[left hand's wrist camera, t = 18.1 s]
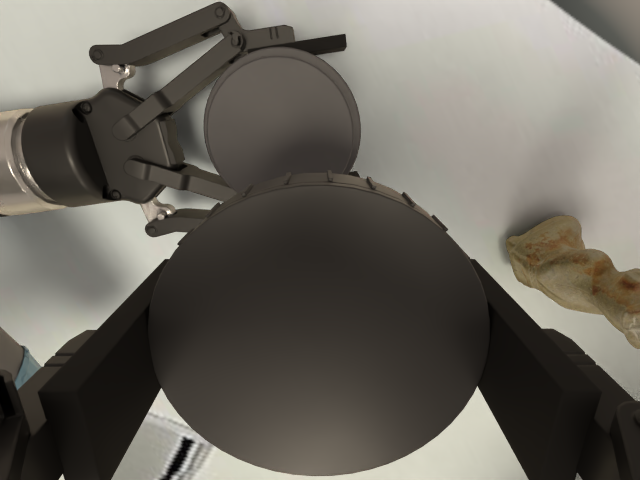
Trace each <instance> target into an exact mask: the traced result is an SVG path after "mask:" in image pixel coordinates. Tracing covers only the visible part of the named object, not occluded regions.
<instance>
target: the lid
mask: <svg viewBox="0 0 640 480" xmlns="http://www.w3.org/2000/svg"><path fill="white" fill-rule="evenodd" d="M205 217H206V218H205V219H204V220H203V221H202V222H201V223H200V224H199V225H198V226H197V227H196V228H195V229H193V228H192V229H191V230H190V231H189V232H188V233H187V234H186V235H185V236H184V237H183V238H182V239H181V240H180V241H179V242H178V245H179V247H178V248H177V249H176V250H175V252H174V253H173V255H172V256H171V258H170V259H169V261H168V262H167V264H166V265H165V267H164V268H163V271H162V273H161V274H160V276H159V280H158V282H157V284H156V286H155V289H154V293H153V296H152V300H151V304H150V308H149V318H148V338H149V345H150V350H151V356H152V361H153V367H154V371H155V373H156V376H157V379H158V382H159V384H160V386H161V388H162V389H163V391H164V393H165V395H166V397H167V399H168V400H169V402H170V403H171V404H172V406H173V407H174V408H175V410H176V411H177V413H178V414H179V415H180V416H181V417H182V418H183V419H184V420H185V421H186V423H187V424H188V425H189V426H190V427H191V428H192V429H193V430H195V431H196V432H197V433H198V434H199V435H201V436H202V437H203V438H204V439H205V440H207V441H208V442H210V443H211V444H213V445H214V446H216V447H217V448H219V449H220V450H222V451H224V452H226V453H228V454H230V455H232V456H234V457H235V458H237V459H240V460H242V461H245V462H247V463H250V464H252V465H255V466H258V467H262V468H265V469H269V470H272V471H277V472H282V473H288V474H294V475H306V476H334V475H342V474H351V473H356V472H361V471H365V470H370V469H373V468H376V467H379V466H383V465H386V464H389V463H391V462H393V461H396V460H398V459H400V458H403V457H405V456H407V455H409V454H410V453H412V452H414V451H416V450H417V449H419V448H421V447H423V446H424V445H425V444H427V443H428V442H429V441H431V440H432V439H434V438H435V437H436V436H438V435H439V434H440V433H441V432H442V431H443V430H444V429H445V428H446V427H448V426H449V425H450V424H451V423H452V422H453V421H454V419H455V418H456V417H457V416H458V415H459V414H460V412H461V411H462V410H463V409H464V407H465V406H466V404H467V403H468V401H469V400H470V398H471V397H472V395H473V394H474V392H475V389H476V387H477V385H478V383H479V381H480V379H481V377H482V374H483V370H484V367H485V364H486V361H487V356H488V350H489V343H490V317H489V311H488V304H487V299H486V296H485V293H484V290H483V287H482V284H481V281H480V279H479V277H478V275H477V273H476V271H475V269H474V268H473V266H472V264H471V262H470V261H471V259H470V257H469V256H468V255H467V254H466V253H465V252H464V251H463V250H462V249H461V248H460V247H459V245H458V244H457V243H456V242H455V241H454V240H453V239H452V238H451V237H450V236H449V235H448V234H447V233H446V231H447V230H448V229H447V228H446V227H445V226H444V225H443V224H442V223H441V222H440V221H439V220H438V219H437V218H436V217H435V216H434V215H433V216H432V217H431V216H430V215H429V214H428V213H427V212H426V211H425V210H423V209H422V208H421V207H420V206H418V205H417V204H416V203H415V202H414V201H413V200H412V199H411V198H410V197H409V196H408V195H407V194H406V193H405V192H403V194H400V193H398V192H396V191H395V190H393V189H391V188H389V187H386V186H384V185H381V184H378V183H376V182H373V180H372V179H371V177H367V179H363V178H359V177H355V176H351V175H344V174H335V173H332V171H331V170H327V173H301V174H295V175H291V172H288V173H287V174H286V176H282V177H278V178H275V179H272V180H268V181H265V182H261V183H259V184H257V185H254V186H253V184H252V183H251V184H249V185H248V186H247V187H246V189H245V190H243V191H241V192H239V193H238V194H236V195H235V196H233V197H231V198H230V199H228V200H226V201H225V202H223V203H222V204H220V203H217V204H216V205H215V206H214V207H213V208H212V209H211V210H210V211H209V212H208V213H207V214H206V215H205Z"/></svg>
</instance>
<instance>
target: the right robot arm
mask: <svg viewBox="0 0 640 480" xmlns="http://www.w3.org/2000/svg"><path fill="white" fill-rule="evenodd" d="M220 33H222V34H223V36H224V39H223V40H221V41H220V42H219V43H218V44H216V45H215V46H214V47H213V48H211V49H210V50H209V51H208V52H207V53H205V54H204V55H203V56H202V57H200V58H199V59H198V60H197V61H195V62H194V63H193V64H192V65H191V66H189V67H188V68H187V69H186V70H184V71H183V72H182V73H181V74H180V75H178V76H177V77H176V78H175V79H173V80H172V81H171V82H170V83H168V84H167V85H166V86H165V87H164V88H162V89H161V90H159V91H157V92H155V93H154V94H152V95H151V96H150V97H148V98H147V99H146V100H144V99H143V98H141V97H139V96H137V95H135V94H133V93H131V92H129V91H127V90H125V89H124V82H125V81H126V80H127V79H129V78H132V77H133V76H134V75H135V72H136V70H135V67H139V66H144V65H148V64H151V63H153V62H155V61H158V60H160V59H162V58H165V57H167V56H169V55H171V54H174V53H176V52H178V51H181V50H183V49H185V48H187V47H190V46H192V45H194V44H197V43H199V42H201V41H203V40H206V39H208V38H210V37H213V36H215V35H217V34H220ZM270 47H288V48H295V49H299V50H303V51H306V52H308V53H311V54H313V55H319V54H326V53H332V52H339V51H344V50H345V48H346V47H347V45H346V35H345V34H341V35H335V36H329V37H322V38H316V39H309V40H303V41H297V42H295V37H294V30H293V27H290V26H286V25H281V26H275V27H268V28H262V29H256V30H244V29H242V27H241V26H240V24H239V22H238V20H237V18H236V15H235V14H234V12H233V11H232V10H231V9H230V8H229V7H228V6H227V5H225V4H224V3H222V2H216V3H214V4H211V5H209V6H207V7H205V8H202V9H200V10H198V11H196V12H193V13H191V14H189V15H187V16H185V17H182V18H180V19H178V20H176V21H173V22H171V23H169V24H167V25H164V26H162V27H160V28H158V29H155V30H153V31H151V32H149V33H147V34H144V35H142V36H140V37H138V38H135V39H133V40H131V41H129V42H126V43H124V44H122V45H94V46H92V47H91V48H90V50H89V56H90V58H91V60H92V61H93V62H94V63H96V64H98V65H99V67H100V72H101V77H102V82H103V87H104V89H102V90H101V91H99V93H98V94H96V95H95V96H94V97H92V98H89V99H83V100H77V101H70V102H64V103H58V104H51V105H45V106H39V107H36V108H35V109H33V108H29V109H18V110H11V111H5V112H0V217H4V216H12V215H22V214H29V213H37V212H44V211H51V210H59V209H63V208H66V207H78V206H85V205H92V204H99V203H106V202H114V201H121V200H125V201H130V202H133V203H136V204H140V205H141V207H142V209H143V211H144V213H145V216H146V218H147V220H148V222H149V223H148V224H147V225H146V226H145V231H146V233H147V235H149V236H151V237H158V236H161V235H165V234H169V233H172V232H189V231H190V230H191V229H192V228H193V229H195V228H196V227H197V226H198V225H199V224H200V223H201V222H202V221H203V220H204V219H205V218H206V217H205V215H206V214H207V213H208V212H209V211H210V210H203V209H187V208H185V209H177V210H175V207H174V206H172V205H170V204H162V203H160V202H159V201H158V200H157V198H156V197H157V196H158V195H159V194H160V193H161V192H162V191H163V190H164V188H165V187H166V186H168V187H171V188H174V189H178V190H188V191H191V192H194V193H198V194H201V195H204V196H207V197H211V198H214V199H217V200H220V201H223V202H225V201H226V200H228V199H230V198H231V197H233V196H235V195H236V194H238V193H237V192H235V191H234V190H233V189H232V188H231V187H230V186H229V185H228V184H227V183H226V182H225V181H224V180H223V179H222V177H221V176H220V175H217V174H213V173H210V172H207V171H204V170H201V169H199V168H198V167H196V166H194V165H190V164H187V163H184V162H183V160H185V158H184V154H183V150H182V148H181V146H180V144H179V143H178V141H177V127H176V123H175V120H174V119H171V117H170V116H171V115H172V114H174V113H175V112H176V111H177V110H179V109H180V108H181V107H182V106H183V104H185V103H186V102H187V101H188V100H190V99H191V98H192V97H193V96H195V95H196V94H197V93H198V92H200V91H201V90H202V89H203V88H205V87H206V86H207V85H208V84H210V83H211V82H212V81H214V80H215V79H216V78H217V77H219V76H220V75H221V74H222V73H223V72H224V71H225V70H226V69H227V68H228V67H229V66H230V65H231V64H233V63H234V62H235V61H237V60H238V59H240V58H241V57H243V56H245V55H246V54H249V53H251V52H254V51H257V50H260V49H265V48H270ZM348 175H351V176H355V177H359V178H360V176H359V174H358V173H357V171H354V172H349V174H348ZM40 368H41V366H40V365H39V364H38V362H37V361H36V360H35V359H34V358H33V357H32V356H31V354H30V353H29V350H28V349H27V348H26V347H25V346H21V345H19V344H18V343H17V342H16V341H15V340H14V339H13V338H12V337H11V336H9V335H8V334H7V333H6V332H5V331H4V330H3V329H2V328H1V327H0V369H3V370H7V371H8V372H10V373H11V374H12V376H13V379H14V382H15V385H16V388H17V390H18V389H19V388H20V387H21V386H22V385H23V384H24V383H25V382H26V381H27V380H28V379H29V378H30V377H31V376H33V375H34V374H35V373H36V372H37V371H38V370H39V369H40Z"/></svg>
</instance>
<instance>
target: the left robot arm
mask: <svg viewBox="0 0 640 480" xmlns="http://www.w3.org/2000/svg"><path fill="white" fill-rule="evenodd" d="M168 261H169V259H165V260H164V261H163V262H162V263H161V264H160V265H159V266H158V267H157V268H156V269H155V270H154V271H153V272H152V273H151V274H150V275H149V276H148V277H147V278H146V279H145V281H144V282H143V283H142V284H141V285H140V286H139V287H138V288H137V289H136V290H135V291H134V292H133V293H132V294H131V295H130V296H129V297H128V298H127V299H126V300H125V301H124V302H123V303H122V304H121V305H120V307H119V308H118V309H117V310H116V311H115V312H114V313H113V314H112V315H111V316H110V317H109V318H108V319H107V320H106V321H105V322H104V323H103V324H102V325H101V326H100V327H99V328H98V329H97V330H86V331H84V332H83V333H81V334H79V335H78V336H76V337H74V338H72V339H71V340H69V341H68V342H67V343H66V344H65V345H64V346H63V347H62V348H61V349H59V350H58V351H57V352H56V353H55V356H52V357H51V358H50V359H49V360H48V361H47V362H46V363H45V364H44V367H41V368H40V369H39V370H38V371H37V372H36V373H35V374H34V375H33V376H31V377H30V378H29V379H28V380H27V381H26V382H25V383H24V384H23V385H22V386H21V387H20V388H19V389H18V390H17V388H16V385H15V382H14V379H13V376H12V374H11V373H10V372H8V371H7V370H3V369H0V480H59V478H60V477H61V475H62V474H63V475H64V479H65V480H111V479H112V477H113V475H114V473H115V471H116V469H117V468H118V466H119V464H120V462H121V460H122V458H123V457H124V455H125V453H126V451H127V449H128V447H129V446H130V444H131V442H132V440H133V438H134V437H135V435H136V433H137V431H138V429H139V427H140V426H141V424H142V422H143V420H144V418H145V416H146V415H147V413H148V411H149V409H150V407H151V406H152V404H153V402H154V400H155V398H156V396H157V395H158V393H159V391H160V389H161V386H160V384H159V382H158V379H157V376H156V373H155V371H154V367H153V361H152V356H151V350H150V345H149V338H148V318H149V308H150V304H151V300H152V296H153V293H154V289H155V286H156V284H157V282H158V280H159V276H160V274H161V273H162V271H163V268H164V267H165V265H166V264H167V262H168ZM470 262H471V264H472V266H473V268H474V269H475V271H476V273H477V275H478V277H479V279H480V281H481V284H482V287H483V290H484V293H485V296H486V299H487V304H488V311H489V317H490V343H489V350H488V356H487V361H486V364H485V367H484V370H483V374H482V377H481V379H480V381H479V383H478V385H477V386H478V388H479V390H480V391H481V393H482V395H483V397H484V399H485V400H486V402H487V404H488V406H489V408H490V410H491V411H492V413H493V415H494V417H495V419H496V421H497V422H498V424H499V426H500V428H501V430H502V432H503V433H504V435H505V437H506V439H507V441H508V442H509V444H510V446H511V448H512V450H513V452H514V453H515V455H516V457H517V459H518V461H519V463H520V464H521V466H522V468H523V470H524V472H525V474H526V475H527V477H528V479H529V480H575V478H576V474H577V472H578V474H579V475H580V476H581V478H582V479H583V480H640V402H639V401H635V400H634V399H633V398H632V397H631V396H630V395H629V394H628V393H627V392H626V391H625V390H624V389H623V388H622V387H621V386H620V385H619V384H617V383H616V382H615V381H614V380H613V379H612V378H611V377H610V376H609V375H608V374H607V373H606V372H605V371H604V370H603V369H602V368H601V367H600V366H599V365H596V362H595V361H593V360H592V359H591V358H590V357H589V356H588V355H585V352H584V351H583V350H582V349H581V348H580V347H579V346H578V345H577V344H576V343H575V342H574V341H573V340H572V339H570V338H568V337H566V336H565V335H563V334H561V333H560V332H558V331H556V330H554V329H541V328H540V327H539V326H538V324H537V323H536V322H535V321H534V320H533V319H532V318H531V317H530V316H529V315H528V314H527V313H526V312H525V311H524V310H523V309H522V308H521V307H520V306H519V305H518V304H517V303H516V302H515V301H514V300H513V298H512V297H511V296H510V295H509V294H508V293H507V292H506V291H505V290H504V289H503V288H502V287H501V286H500V285H499V284H498V283H497V282H496V281H495V280H494V279H493V278H492V277H491V276H490V275H489V274H488V272H487V271H486V270H485V269H484V268H483V267H482V266H481V265H480V264H479V263H478V262H477V261H476V260H475V259H471V261H470Z"/></svg>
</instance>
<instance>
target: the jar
mask: <svg viewBox="0 0 640 480" xmlns="http://www.w3.org/2000/svg"><path fill="white" fill-rule="evenodd" d="M204 136H205V143H206V147H207V150H208V153H209V156H210V158H211V161H212V163H213V165H214V167H215V168H216V170H217V172H218V173H219V175H220V176H221V177H222V179H223V180H224V181H225V182H226V183H227V184H228V185H229V186H230V187H231V188H232V189H233V190H234V191H235V192H237V193H239V192H241V191H243V190H245V189H246V187H247V186H248V185H249V184H251V183H252V184H253V186H254V185H257V184H259V183H261V182H265V181H268V180H272V179H275V178H278V177H282V176H286V174H287V173H288V172H291V175H295V174H301V173H327V170H331V171H332V173H335V174H344V175H348V174H349V172H350V170H351V168H352V167H353V164H354V162H355V160H356V157H357V153H358V150H359V145H360V137H361V124H360V116H359V112H358V108H357V104H356V102H355V99H354V97H353V94H352V92H351V91H350V89H349V87H348V85H347V84H346V82H345V81H344V80H343V78H342V77H341V76H340V75H339V74H338V73H337V72H336V70H335V69H334V68H333V67H331V66H330V65H329V64H327V63H326V62H325V61H324V60H322V59H320V58H318V57H317V56H315V55H313V54H311V53H308V52H306V51H303V50H299V49H295V48H288V47H270V48H265V49H260V50H257V51H254V52H251V53H249V54H247V55H245V56H243V57H241V58H240V59H238V60H237V61H235V62H234V63H233V64H231V65H230V66H229V67H228V68H227V69H226V70H225V71H224V72H223V73H222V75H221V76H220V77H219V79H218V80H217V81H216V83H215V85H214V87H213V88H212V90H211V93H210V95H209V98H208V100H207V104H206V108H205V114H204Z"/></svg>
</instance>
